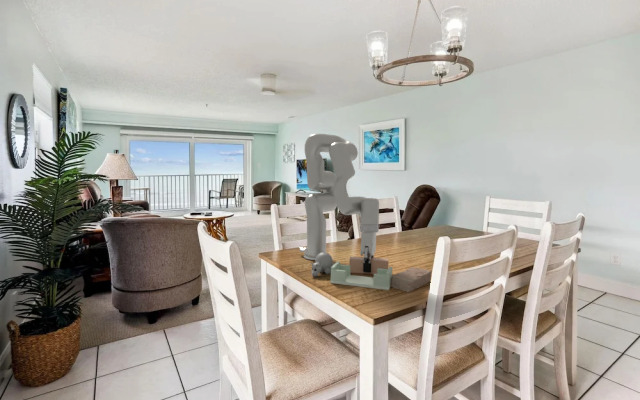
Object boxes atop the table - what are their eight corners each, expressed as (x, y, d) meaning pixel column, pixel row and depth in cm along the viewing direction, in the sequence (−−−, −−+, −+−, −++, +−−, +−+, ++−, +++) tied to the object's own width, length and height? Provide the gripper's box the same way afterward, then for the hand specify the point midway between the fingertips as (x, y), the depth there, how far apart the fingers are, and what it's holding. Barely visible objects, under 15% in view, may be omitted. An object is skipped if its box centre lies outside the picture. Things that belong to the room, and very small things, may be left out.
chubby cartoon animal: (308, 280, 136) (302, 263, 133) (326, 264, 144) (320, 247, 141) (320, 284, 131) (314, 266, 128) (338, 267, 139) (333, 250, 136)
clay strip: (349, 272, 139) (349, 258, 138) (350, 270, 142) (350, 256, 142) (388, 275, 136) (388, 260, 135) (387, 272, 140) (388, 258, 139)
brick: (409, 293, 116) (409, 280, 116) (389, 287, 122) (389, 274, 122) (431, 282, 128) (432, 270, 127) (412, 277, 134) (412, 266, 133)
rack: (330, 282, 125) (330, 267, 125) (337, 275, 134) (337, 261, 133) (388, 290, 118) (389, 273, 118) (392, 282, 126) (392, 266, 126)
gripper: (364, 224, 147) (364, 263, 148) (355, 230, 131) (355, 275, 132) (381, 225, 144) (380, 265, 146) (374, 231, 128) (373, 277, 130)
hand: (368, 269), depth 139 cm, fingers open, 5 cm apart
